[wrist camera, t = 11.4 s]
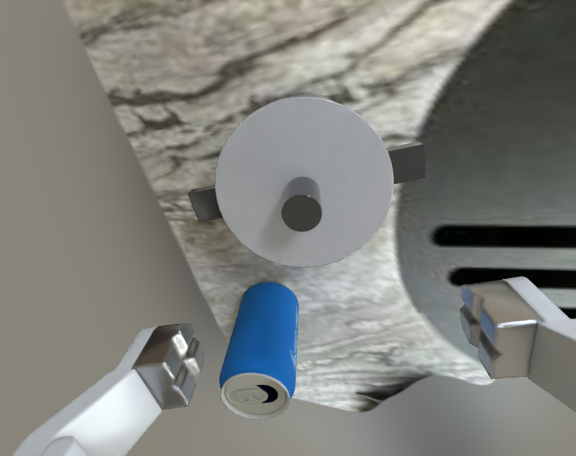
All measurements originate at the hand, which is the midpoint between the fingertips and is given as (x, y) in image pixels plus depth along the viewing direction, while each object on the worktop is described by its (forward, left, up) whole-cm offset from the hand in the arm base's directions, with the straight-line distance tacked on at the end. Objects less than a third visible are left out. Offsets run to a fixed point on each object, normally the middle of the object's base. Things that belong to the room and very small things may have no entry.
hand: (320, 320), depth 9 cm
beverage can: (+15, -8, -21) cm, 27 cm away
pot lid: (+1, -1, -13) cm, 13 cm away
